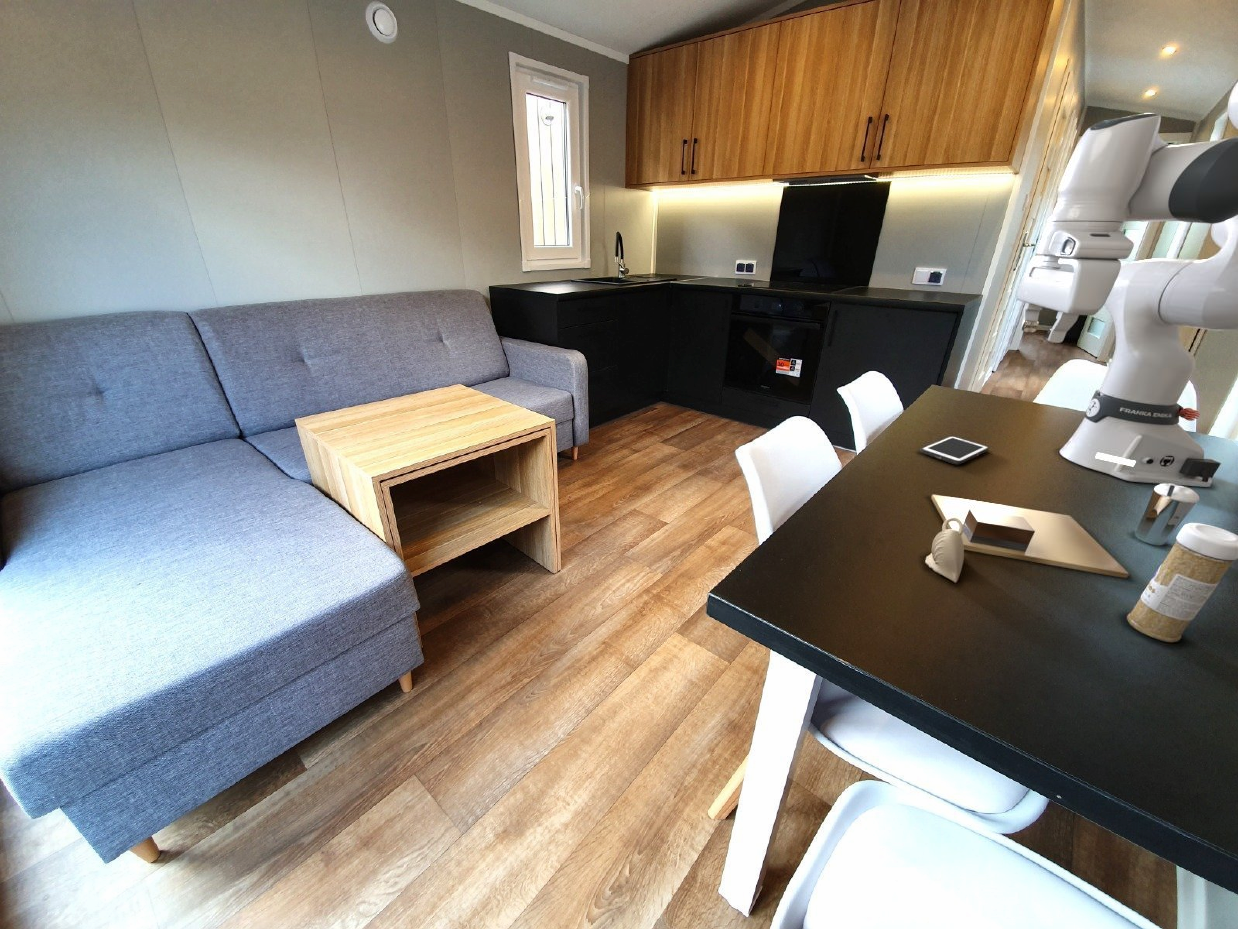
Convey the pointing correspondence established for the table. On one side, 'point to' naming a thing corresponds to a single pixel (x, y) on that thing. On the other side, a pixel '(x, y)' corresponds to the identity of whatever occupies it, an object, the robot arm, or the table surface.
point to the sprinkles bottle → (1184, 581)
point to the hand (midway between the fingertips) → (1039, 336)
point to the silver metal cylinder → (1165, 513)
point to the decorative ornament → (947, 551)
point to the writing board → (1038, 537)
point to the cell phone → (954, 450)
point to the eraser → (997, 530)
